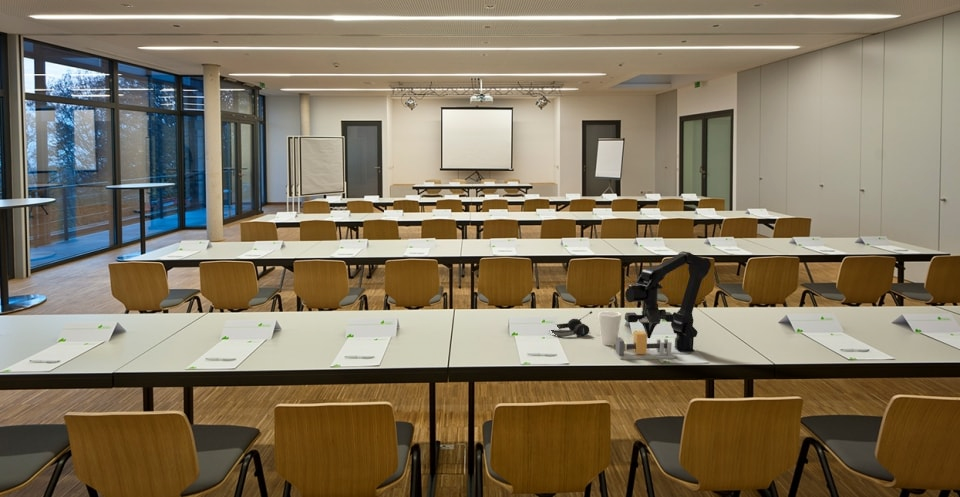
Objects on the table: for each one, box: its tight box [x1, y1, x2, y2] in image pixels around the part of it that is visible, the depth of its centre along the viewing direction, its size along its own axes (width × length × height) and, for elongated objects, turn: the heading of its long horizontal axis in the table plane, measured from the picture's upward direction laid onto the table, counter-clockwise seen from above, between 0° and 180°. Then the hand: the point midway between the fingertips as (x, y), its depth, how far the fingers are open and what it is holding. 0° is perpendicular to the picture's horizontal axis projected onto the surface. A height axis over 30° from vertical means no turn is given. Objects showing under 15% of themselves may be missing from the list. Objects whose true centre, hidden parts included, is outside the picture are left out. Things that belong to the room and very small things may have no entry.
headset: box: [551, 310, 593, 338], centre depth 325 cm, size 14×10×20 cm
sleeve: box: [632, 330, 648, 354], centre depth 290 cm, size 4×5×8 cm
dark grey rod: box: [624, 341, 668, 351], centre depth 290 cm, size 21×3×3 cm, turn 93°
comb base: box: [613, 336, 676, 360], centre depth 291 cm, size 22×10×7 cm, turn 93°
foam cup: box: [597, 310, 622, 346], centre depth 307 cm, size 10×9×13 cm
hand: (648, 338), depth 290 cm, fingers closed
